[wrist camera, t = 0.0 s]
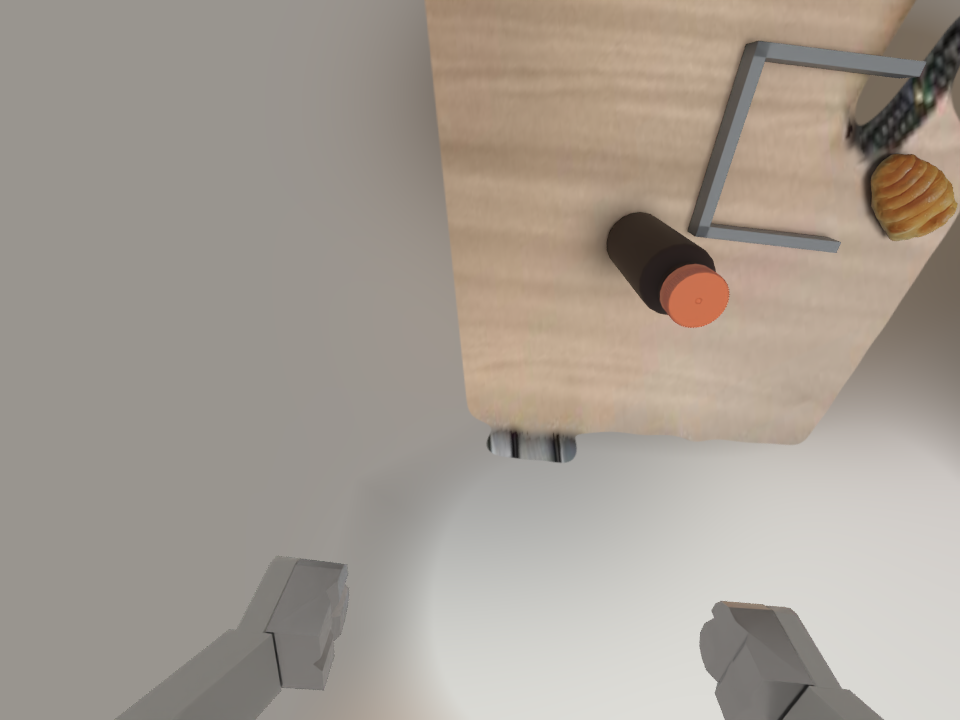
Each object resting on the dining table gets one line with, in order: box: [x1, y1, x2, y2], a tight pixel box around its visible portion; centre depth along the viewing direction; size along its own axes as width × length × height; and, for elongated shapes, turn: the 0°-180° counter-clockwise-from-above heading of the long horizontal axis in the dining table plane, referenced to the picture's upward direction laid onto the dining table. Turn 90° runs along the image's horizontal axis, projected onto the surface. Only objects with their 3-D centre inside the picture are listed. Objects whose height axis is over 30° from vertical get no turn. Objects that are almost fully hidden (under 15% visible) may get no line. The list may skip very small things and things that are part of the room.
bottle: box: [607, 212, 730, 328], centre depth 47 cm, size 7×7×20 cm
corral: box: [688, 41, 926, 253], centre depth 50 cm, size 18×16×2 cm
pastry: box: [871, 154, 957, 241], centre depth 50 cm, size 9×7×4 cm
